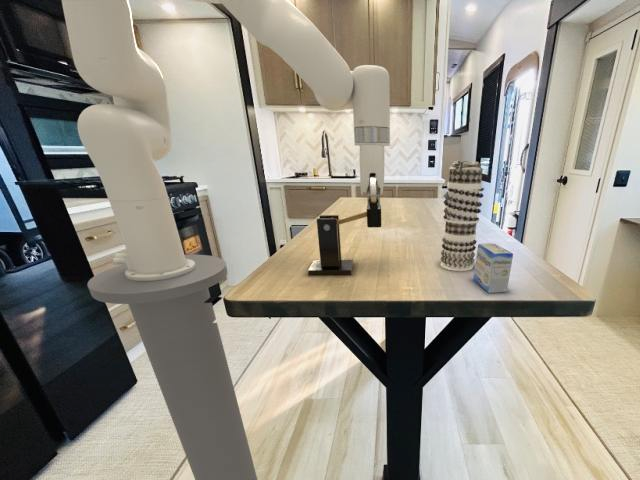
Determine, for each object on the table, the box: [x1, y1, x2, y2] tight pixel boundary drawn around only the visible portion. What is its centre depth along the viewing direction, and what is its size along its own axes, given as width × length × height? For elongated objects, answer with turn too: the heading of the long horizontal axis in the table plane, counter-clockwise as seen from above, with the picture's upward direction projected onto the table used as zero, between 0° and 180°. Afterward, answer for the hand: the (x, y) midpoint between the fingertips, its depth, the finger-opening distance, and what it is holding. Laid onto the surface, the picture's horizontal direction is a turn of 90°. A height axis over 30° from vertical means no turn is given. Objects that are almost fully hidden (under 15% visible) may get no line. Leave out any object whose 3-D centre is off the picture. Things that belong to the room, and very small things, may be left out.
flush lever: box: [337, 211, 367, 226], centre depth 74 cm, size 13×5×2 cm, turn 95°
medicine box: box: [472, 242, 514, 294], centre depth 69 cm, size 8×4×9 cm, turn 12°
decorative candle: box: [440, 160, 485, 272], centre depth 78 cm, size 9×9×25 cm
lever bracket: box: [307, 214, 354, 276], centre depth 77 cm, size 10×8×13 cm
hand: (374, 223), depth 75 cm, fingers closed on flush lever, 5 cm apart
